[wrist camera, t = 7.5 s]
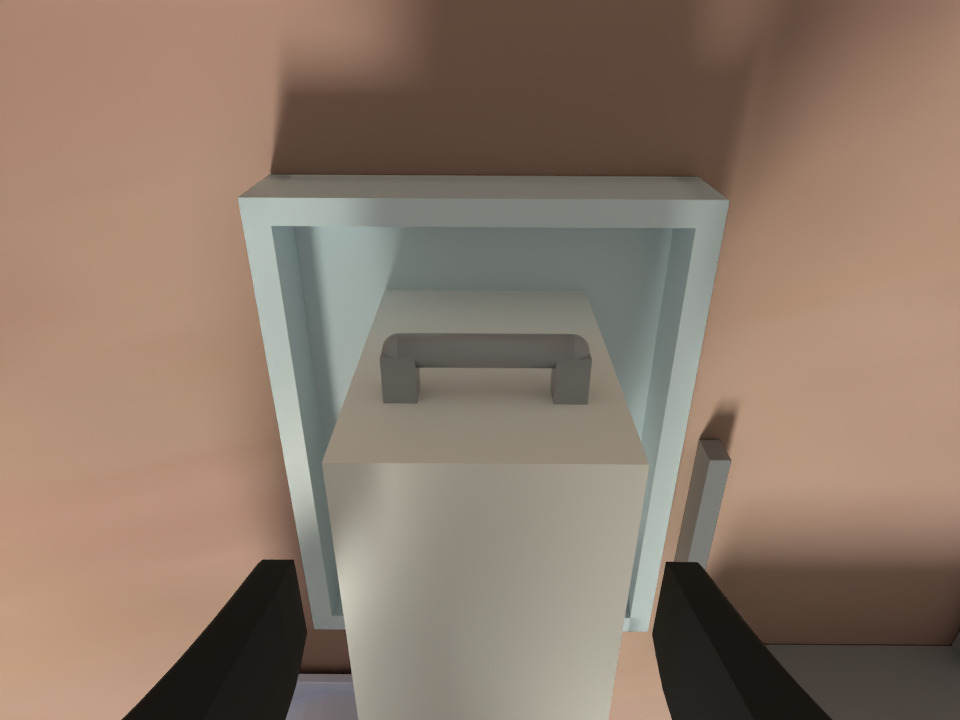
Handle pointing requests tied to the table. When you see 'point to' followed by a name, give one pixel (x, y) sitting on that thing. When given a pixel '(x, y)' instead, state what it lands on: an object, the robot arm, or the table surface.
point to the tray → (480, 266)
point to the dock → (833, 668)
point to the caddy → (484, 508)
